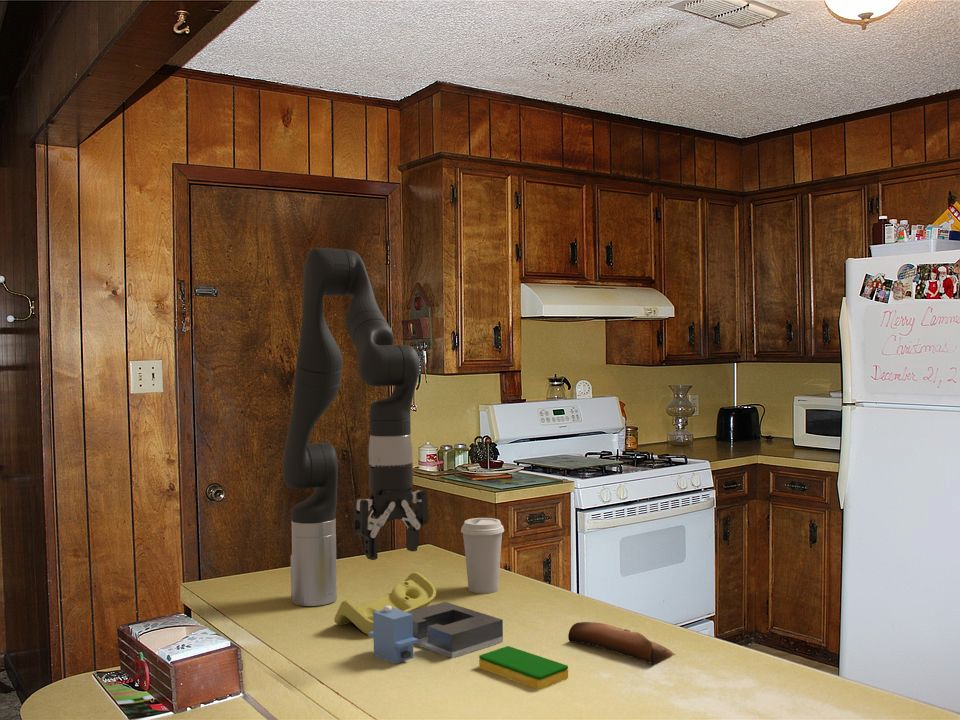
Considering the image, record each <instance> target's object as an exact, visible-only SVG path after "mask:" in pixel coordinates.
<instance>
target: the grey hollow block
mask: <svg viewBox="0 0 960 720" xmlns="http://www.w3.org/2000/svg"><path fill="white" fill-rule="evenodd" d="M407 613H410V614H413V637H414V638H417V639H418V640H419V643H415V644H414V645H417V646H419V647H422V648H425V649H427V650H430V651H432V652H435V653H438V654H440V655H442V656H446V657H448V658H451V659H454V658H459V657H460V656H463V655H466V654H470V653H473V652H476V651H479V650H483V649H485V648H488V647H491V646H494V645H497V644H500V643H503V642H504V629H503V627H504V625H503V621H504V620H503V619H502V618H498V617H495V616H493V615H492V616H491V615H489V614H486V613H483V612H480V611H476V610H473V609H470V608H467V607H463V606H459V605H458V604H457V605H456V604H454V603H450V602H447V601H443V602H440V603H439V602H438V603H434V604H432V605H428V606H427V607H424V608H420V609H416V610H412V611H409V612H407Z"/></svg>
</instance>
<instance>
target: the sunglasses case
mask: <svg viewBox="0 0 960 720" xmlns="http://www.w3.org/2000/svg"><path fill="white" fill-rule="evenodd" d="M567 637H568V639H567V640H568V641H569V642H571V643H578V644H583V645H588V646H589V645H590V646H591V647H592V646H593V647H598V648H601V649H604V650H608V651H611V652H615V653H619V654H621V655H623V656H627V657H629V658H630V657H631V658H635V659H637V660H642V661H644V662H645V663H650V665H652V666H655V665H659V663H662V662H665V661H666V660H668V659H670V658H671V657H673V656H674V655H676V653H674V652H673V651H672V650H670V649H669V648H668V647H666V646H663V645H662V644H659V643H657V642H654V641H652V640H649V639H648V638H647V637H646V636H645V635H644V634H642V633H641V632H638V631H631V630H630V629H627V628H624V629H623V628H622V627H617V626H613V625H611V624H610V625H609V624H607V623H601V622H595V621H594V622H593V621H591V622H590V621H582V622H576V623H574V624H572V626H571V627H570V629H569V631H568V635H567Z"/></svg>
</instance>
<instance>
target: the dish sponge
mask: <svg viewBox="0 0 960 720" xmlns="http://www.w3.org/2000/svg"><path fill="white" fill-rule="evenodd" d="M478 656H479V657H478V660H479V661H478V662H479V665H478V668H479V669H482V670H484V671H486V672H487V671H488V672H490V673H492V674H496V675H497V676H500V677H502V678H506V679H508V680H511V681H514V682H515V683H516V682H517V683H519V684H522V685H524V684H525V686H527V685H528V687H531V688H533V689H535V688H536V690H542V689H545V688H548V687H551V686H553V685H555V684H558V683H560V682H563V681H565V680H567V678H568V679H569V666H568V665H567V664H564V663H561V662H558V661H554V660H552V659H549V658H546V657H543V656H540V655H537V654H534V653H531V652H527V651H525V650H522V649H518V648H516V647H513V646H508V645H507V646H504V647H501V648H498V649H495V650H492V651H489V652H486V653H481V654H479V655H478ZM562 680H563V681H562ZM557 682H558V683H557ZM552 684H553V685H552Z"/></svg>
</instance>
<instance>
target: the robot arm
mask: <svg viewBox="0 0 960 720" xmlns="http://www.w3.org/2000/svg"><path fill="white" fill-rule="evenodd" d="M303 268H304V269H303V281H302V282H303V285H302V286H303V287H302V308H301V309H302V310H301V311H302V312H301V324H300V325H301V327H300V335H299V343H298V351H297V356H296V363H295V364H296V365H295V370H294V371H295V373H294V382H293V383H294V385H293V397H292V398H293V399H292V405H291V412H290V413H291V415H290V420H289V426H288V431H287V437H286V440H285V445H284V451H283V458H282V468H281V469H282V470H281V471H282V478H283V481H284V484H285V485H286V487H287V488H289V489H292V490H293V489H295V490H298V489H299V490H300V489H311V488H314V491H313V493H312V494H311V495H309V496H308V497H307V498H306V499H305V500H303V501H301V502H297V504H295V505H293V507H292V508H291V512H290V517H291V518H290V520H291V555H290V592H291V593H290V595H291V600H292V603H293V604H294V605H297V606H301V607H316V606H317V607H318V606H325V605H329V604H331V603H334V602H336V601H337V599H338V591H337V590H338V587H337V586H338V585H337V582H338V581H337V580H338V578H337V571H338V570H337V530H336V529H337V528H336V527H337V523H336V522H337V521H336V519H337V518H336V515H337V514H336V510H337V504H338V476H339V473H338V472H339V463H338V454H337V452H336V451H337V450H336V449H335V447H334V446H333V445H332V444H331V443H329V442H315V443H309V440H310V436H311V434H312V431H313V429H314V428H315V425H316V424H317V422H318V421H319V420H320V419H321V417H322V416H323V414H324V413H325V412H326V410H328V408H329V407H330V405H331V404H332V403H333V401H334V400H335V398H336V397H337V395H338V392H339V391H340V387H341V381H342V380H341V378H342V371H343V365H344V362H343V360H344V359H343V355H342V351H341V349H340V347H339V345H338V343H337V341H336V339H335V338H334V336H333V334H332V332H331V330H330V329H329V326H328V324H327V321H326V318H325V314H324V305H323V304H324V297H325V296H332V297H333V296H335V297H336V296H337V297H345V296H350V297H351V299H352V300H351V302H350V304H349V306H348V308H347V310H346V313H345V316H344V317H345V319H344V321H345V328H346V330H347V332H348V335H349V337H350V338H351V341H352V343H353V344H354V345H355V348H356V354H357V370H358V375H359V378H360V379H361V380H362V381H363V382H364V384H366V385H368V386H371V387H388V386H389V387H391V386H394V388H393V390H392V393H391V395H390V396H388V397H387V398H383V399H379V400H375V401H374V402H372V403H371V404H370V406H369V411H368V412H369V415H368V417H369V441H368V442H369V443H368V485H369V487H368V488H369V489H370V497H369V498H366V499H365V498H355V499H354V502H353V503H354V504H353V506H354V507H353V525H352V527H353V532H352V533H354V534H355V535H358V536H362V537H363V538H364V539H363V540H364V541H363V542H364V543H363V544H364V545H363V546H364V547H363V548H364V550H363V551H364V555H365V557H366V558H367V560H371V561H375V560H378V537H376V536H377V535H378V533H379V532H380V529H381V528H382V527H384V525H385V524H386V522H392V521H395V520H398V521H399V520H401V521H403V523H404V524H405V526H406V527H407V528H406V529H405V531H406V532H405V535H406V539H405V542H406V550H407V551H409V552H413V553H414V552H417V551H418V548H419V546H420V529H421V527H422V526H423V525H427V524H429V512H428V496H427V492H426V491H425V490H421V489H414V490H413V491H412V487H413V486H414V483H413V482H414V474H413V473H414V471H413V470H414V469H413V468H414V467H413V466H414V465H413V464H414V463H413V462H414V461H413V459H414V458H413V442H412V435H411V433H412V431H411V430H412V429H411V424H412V423H411V411H412V403H413V399H414V394H415V391H416V386H417V382H418V381H419V380H418V379H419V376H420V370H421V361H420V357H419V354H418V352H417V351H416V350H415V348H414V347H412V346H411V345H408V344H407V345H406V344H394V343H395V337H394V332H393V330H392V329H391V326H390V325H389V324H388V321H387V320H386V318H385V317H384V315H383V313H382V311H381V310H380V307H379V305H378V303H377V300H376V298H375V297H376V296H375V294H374V290H373V286H372V284H371V281H370V278H369V274H368V271H367V269H366V266H365V262H364V261H363V259H362V257H361V255H360V254H359V253H358V252H356V251H354V250H351V249H344V248H343V249H342V248H333V247H332V248H331V247H313V248H311V249H310V250H309V251H308V253H307V255H306V258H305V263H304V266H303ZM412 503H413V509H412V508H411V507H410V506H411V504H412ZM371 509H372V510H371ZM369 511H370V514H369Z"/></svg>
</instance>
